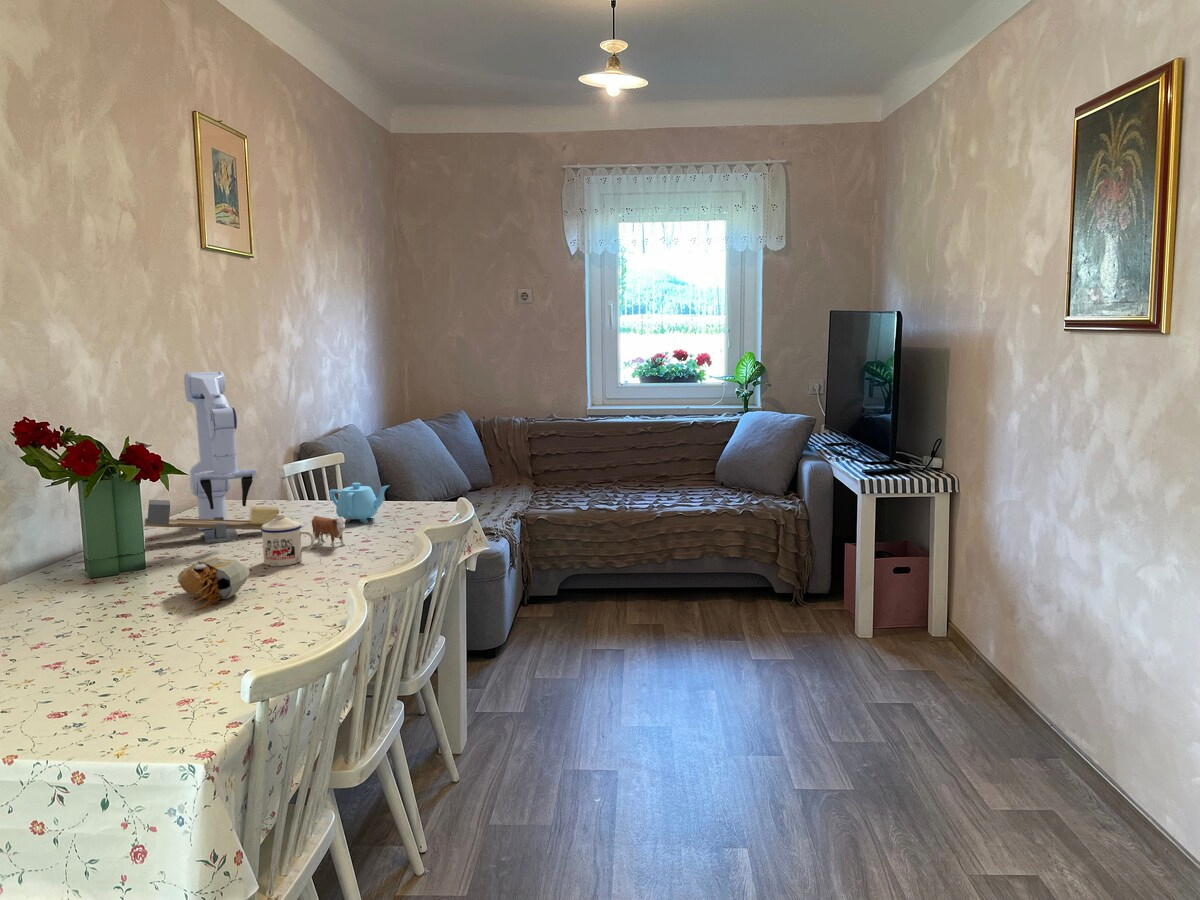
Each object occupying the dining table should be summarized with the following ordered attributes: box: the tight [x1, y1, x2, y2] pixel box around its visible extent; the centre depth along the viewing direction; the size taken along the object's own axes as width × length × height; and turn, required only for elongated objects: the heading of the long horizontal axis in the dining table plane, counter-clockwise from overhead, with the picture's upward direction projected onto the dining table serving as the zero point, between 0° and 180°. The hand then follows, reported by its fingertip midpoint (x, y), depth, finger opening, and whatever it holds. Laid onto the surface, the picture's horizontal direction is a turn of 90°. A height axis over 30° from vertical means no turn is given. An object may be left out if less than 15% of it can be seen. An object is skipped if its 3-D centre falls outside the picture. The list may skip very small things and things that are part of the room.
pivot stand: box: [202, 517, 239, 544], centre depth 242 cm, size 12×8×5 cm, turn 26°
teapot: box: [328, 482, 390, 524], centre depth 263 cm, size 13×14×11 cm
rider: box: [248, 506, 280, 525], centre depth 247 cm, size 4×7×4 cm, turn 116°
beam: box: [144, 499, 262, 531], centre depth 242 cm, size 8×36×6 cm, turn 116°
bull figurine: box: [311, 515, 351, 548], centre depth 232 cm, size 4×13×8 cm, turn 53°
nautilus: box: [177, 556, 251, 612], centre depth 186 cm, size 8×22×15 cm
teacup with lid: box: [260, 513, 316, 567], centre depth 215 cm, size 12×9×12 cm
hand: (228, 507), depth 233 cm, fingers open, 7 cm apart
